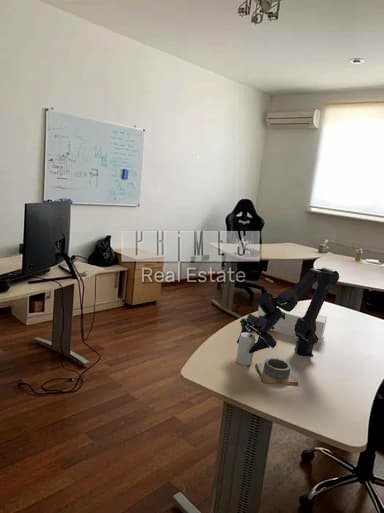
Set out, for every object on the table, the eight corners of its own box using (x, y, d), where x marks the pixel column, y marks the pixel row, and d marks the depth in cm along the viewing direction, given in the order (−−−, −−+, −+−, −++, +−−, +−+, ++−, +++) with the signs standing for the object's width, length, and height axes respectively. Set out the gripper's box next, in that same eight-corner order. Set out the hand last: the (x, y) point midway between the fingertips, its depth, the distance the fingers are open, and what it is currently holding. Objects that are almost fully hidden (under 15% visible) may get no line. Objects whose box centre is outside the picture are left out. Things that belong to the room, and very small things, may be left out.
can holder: (286, 367, 155) (288, 356, 154) (298, 384, 142) (300, 373, 141) (255, 365, 153) (257, 354, 152) (264, 382, 141) (265, 371, 140)
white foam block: (323, 336, 192) (327, 316, 189) (320, 344, 182) (324, 323, 180) (261, 320, 204) (264, 301, 202) (255, 326, 195) (258, 306, 193)
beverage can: (251, 367, 151) (255, 339, 148) (235, 364, 152) (239, 336, 149) (252, 360, 157) (256, 333, 154) (236, 357, 158) (240, 330, 156)
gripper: (246, 299, 159) (220, 326, 156) (275, 316, 143) (247, 346, 140) (258, 315, 165) (234, 342, 162) (288, 333, 149) (261, 363, 146)
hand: (243, 347), depth 152 cm, fingers open, 8 cm apart
